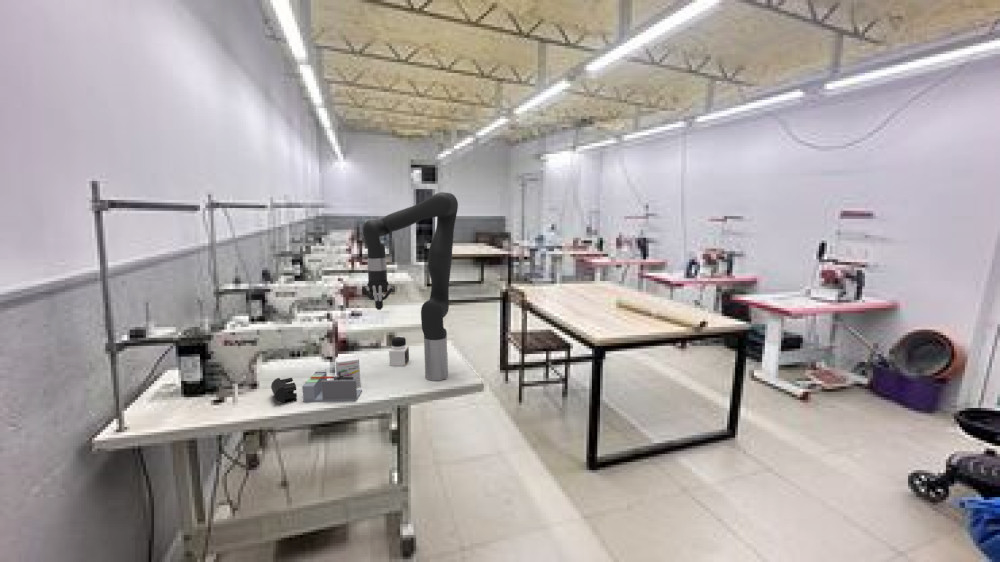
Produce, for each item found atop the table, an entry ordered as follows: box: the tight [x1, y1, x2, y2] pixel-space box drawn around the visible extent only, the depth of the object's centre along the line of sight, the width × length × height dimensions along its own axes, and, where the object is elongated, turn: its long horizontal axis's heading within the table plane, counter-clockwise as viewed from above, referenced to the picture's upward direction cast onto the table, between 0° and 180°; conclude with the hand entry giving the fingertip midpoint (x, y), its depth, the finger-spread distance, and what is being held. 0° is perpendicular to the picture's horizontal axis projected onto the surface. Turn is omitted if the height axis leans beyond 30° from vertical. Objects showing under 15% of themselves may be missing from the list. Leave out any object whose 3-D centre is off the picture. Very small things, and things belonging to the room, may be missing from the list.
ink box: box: [335, 354, 362, 388], centre depth 168 cm, size 8×5×12 cm, turn 114°
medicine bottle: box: [388, 335, 410, 367], centre depth 193 cm, size 7×7×12 cm
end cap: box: [270, 377, 298, 405], centre depth 158 cm, size 10×7×7 cm
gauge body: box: [301, 371, 363, 403], centre depth 162 cm, size 19×14×8 cm
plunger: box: [310, 375, 354, 380], centre depth 162 cm, size 15×4×6 cm, turn 93°
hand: (379, 309), depth 181 cm, fingers closed
